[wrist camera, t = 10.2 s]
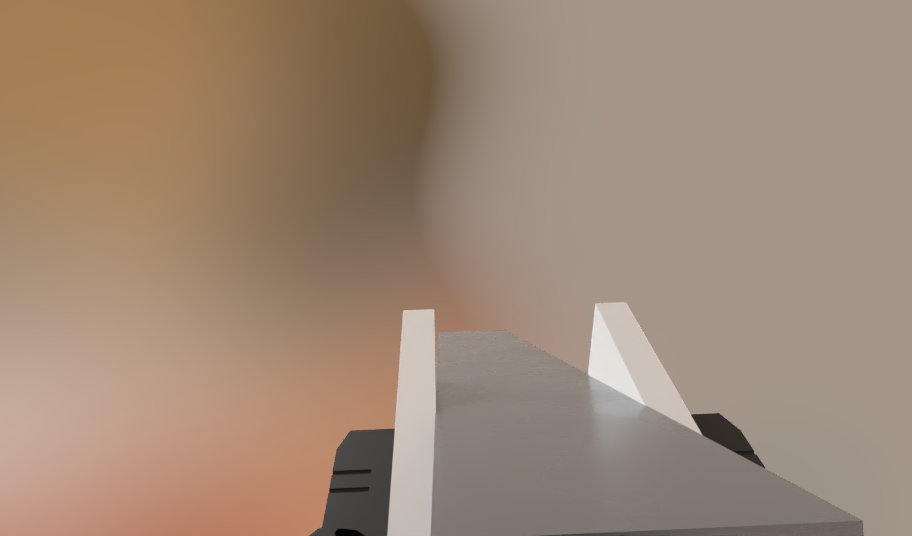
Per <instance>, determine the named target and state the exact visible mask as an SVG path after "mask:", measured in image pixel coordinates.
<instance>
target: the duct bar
mask: <svg viewBox="0 0 912 536" xmlns="http://www.w3.org/2000/svg"><path fill="white" fill-rule="evenodd" d="M431 536H863V521H862V520H860V519H858V518H857V517H855V516H853V515H851V514H849V513H847V512H845V511H843V510H842V509H840V508H838V507H836V506H834V505H832V504H830V503H828V502H826V501H825V500H823V499H821V498H819V497H817V496H815V495H813V494H812V493H810V492H808V491H806V490H804V489H802V488H800V487H798V486H797V485H795V484H793V483H791V482H789V481H787V480H785V479H783V478H781V477H780V476H778V475H776V474H774V473H772V472H770V471H768V470H766V469H765V468H763V467H761V466H759V465H757V464H755V463H753V462H752V461H750V460H748V459H746V458H744V457H742V456H740V455H738V454H737V453H735V452H733V451H731V450H729V449H727V448H725V447H723V446H722V445H720V444H718V443H716V442H714V441H712V440H710V439H708V438H707V437H705V436H703V435H701V434H699V433H697V432H695V431H693V430H692V429H690V428H688V427H686V426H684V425H682V424H680V423H678V422H677V421H675V420H673V419H671V418H669V417H667V416H665V415H663V414H662V413H660V412H658V411H656V410H654V409H652V408H650V407H648V406H645V405H643V404H641V403H639V402H638V401H636V400H634V399H632V398H630V397H628V396H626V395H625V394H623V393H621V392H619V391H617V390H615V389H613V388H612V387H610V386H608V385H606V384H604V383H602V382H600V381H599V380H597V379H595V378H593V377H591V376H589V375H588V374H586V373H584V372H583V371H581V370H579V369H577V368H575V367H573V366H571V365H569V364H568V363H566V362H564V361H562V360H560V359H558V358H557V357H555V356H553V355H551V354H549V353H547V352H545V351H543V350H541V349H540V348H537V347H536V346H534V345H532V344H530V343H528V342H527V341H524V340H523V339H521V338H519V337H517V336H515V335H513V334H511V333H510V332H508V331H506V330H495V331H469V332H468V331H466V332H439V333H438V354H437V396H436V414H435V432H434V459H433V485H432V511H431Z"/></svg>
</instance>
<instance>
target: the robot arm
mask: <svg viewBox="0 0 912 536" xmlns="http://www.w3.org/2000/svg"><path fill="white" fill-rule="evenodd" d="M588 375H589V376H591V377H593V378H595V379H597V380H599V381H600V382H602V383H604V384H606V385H608V386H610V387H612V388H613V389H615V390H617V391H619V392H621V393H623V394H625V395H626V396H628V397H630V398H632V399H634V400H636V401H638V402H639V403H641V404H643V405H645V406H648V407H650V408H652V409H654V410H656V411H658V412H660V413H662V414H663V415H665V416H667V417H669V418H671V419H673V420H675V421H677V422H678V423H680V424H682V425H684V426H686V427H688V428H690V429H692V430H693V431H695V432H697V433H699V434H701V435H703V436H705V437H707V438H708V439H710V440H712V441H714V442H716V443H718V444H720V445H722V446H723V447H725V448H727V449H729V450H731V451H733V452H735V453H737V454H738V455H740V456H742V457H744V458H746V459H748V460H750V461H752V462H753V463H755V464H757V465H759V466H761V467H763V468H765V467H764V465H763V464H762V462H761V461H760V459H759V458H758V456H757V455H755V454H754V450H753V449H752V447H751V446H750V444H749V443H748V441H747V440H746V438H745V437H744V435H743V434H742V432H741V431H740V430H739V429H738V428H737V427H735V426H734V425H733V424H731V423H730V422H729V421H728V420H727V419H725V418H724V417H723V416H722V415H720V414H719V413H717V414H694V415H691V414H690V413H689V411H688V409H687V407H686V406H685V404H684V402H683V401H682V399H681V397H680V395H679V394H678V392H677V390H676V388H675V387H674V385H673V383H672V381H671V380H670V378H669V376H668V375H667V373H666V371H665V370H664V368H663V366H662V364H661V363H660V361H659V359H658V357H657V356H656V354H655V352H654V351H653V349H652V347H651V345H650V343H649V342H648V340H647V338H646V337H645V335H644V333H643V331H642V330H641V328H640V326H639V324H638V323H637V321H636V319H635V317H634V316H633V314H632V312H631V311H630V309H629V307H628V305H627V304H626V302H621V303H620V302H619V303H596V304H595V313H594V322H593V332H592V341H591V351H590V361H589V370H588ZM436 396H437V367H436V344H435V320H434V309H431V310H405V311H403V323H402V336H401V350H400V364H399V378H398V393H397V407H396V420H395V429H380V430H379V429H378V430H355V431H350V432H349V433H348V435H347V436H346V438H345V439H344V440H343V442H342V443H341V444H340V446H339V447H338V449H337V452H336V457H335V462H334V467H333V475H332V478H331V484H330V492H329V494H328V499H327V505H326V511H325V515H324V521H323V526H322V528H319V529H317V530H316V531H315V532H314V533H312V534H311V535H310V536H431V511H432V485H433V459H434V432H435V414H436Z"/></svg>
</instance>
